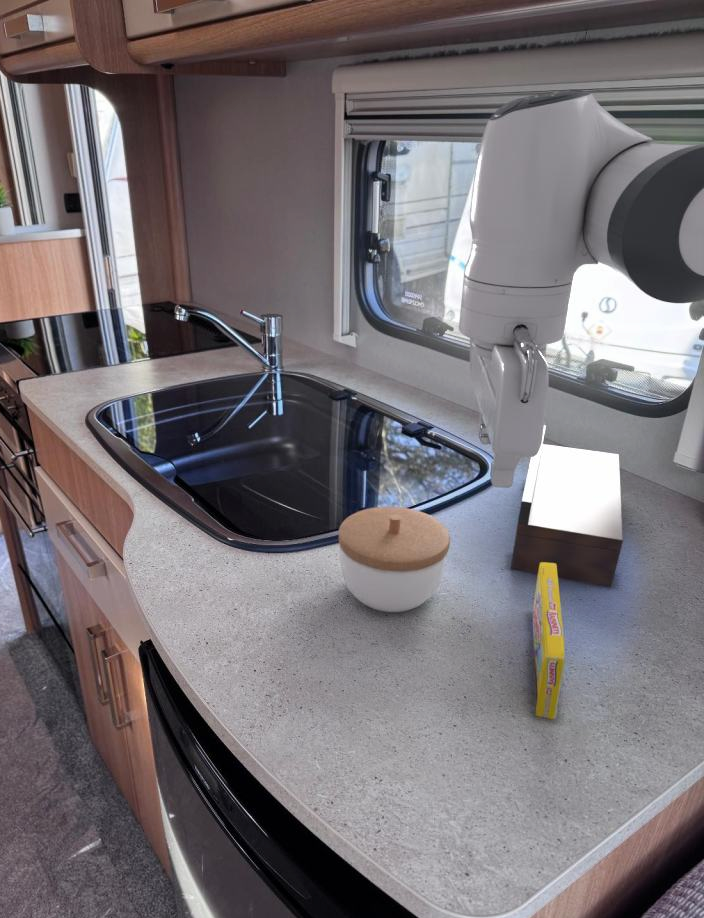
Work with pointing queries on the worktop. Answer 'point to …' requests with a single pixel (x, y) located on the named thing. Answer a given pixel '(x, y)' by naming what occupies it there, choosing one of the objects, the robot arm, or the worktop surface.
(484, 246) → the robot arm
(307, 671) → the worktop surface
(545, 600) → the candy box
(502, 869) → the worktop surface
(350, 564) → the lidded bowl
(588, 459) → the box with raised back
